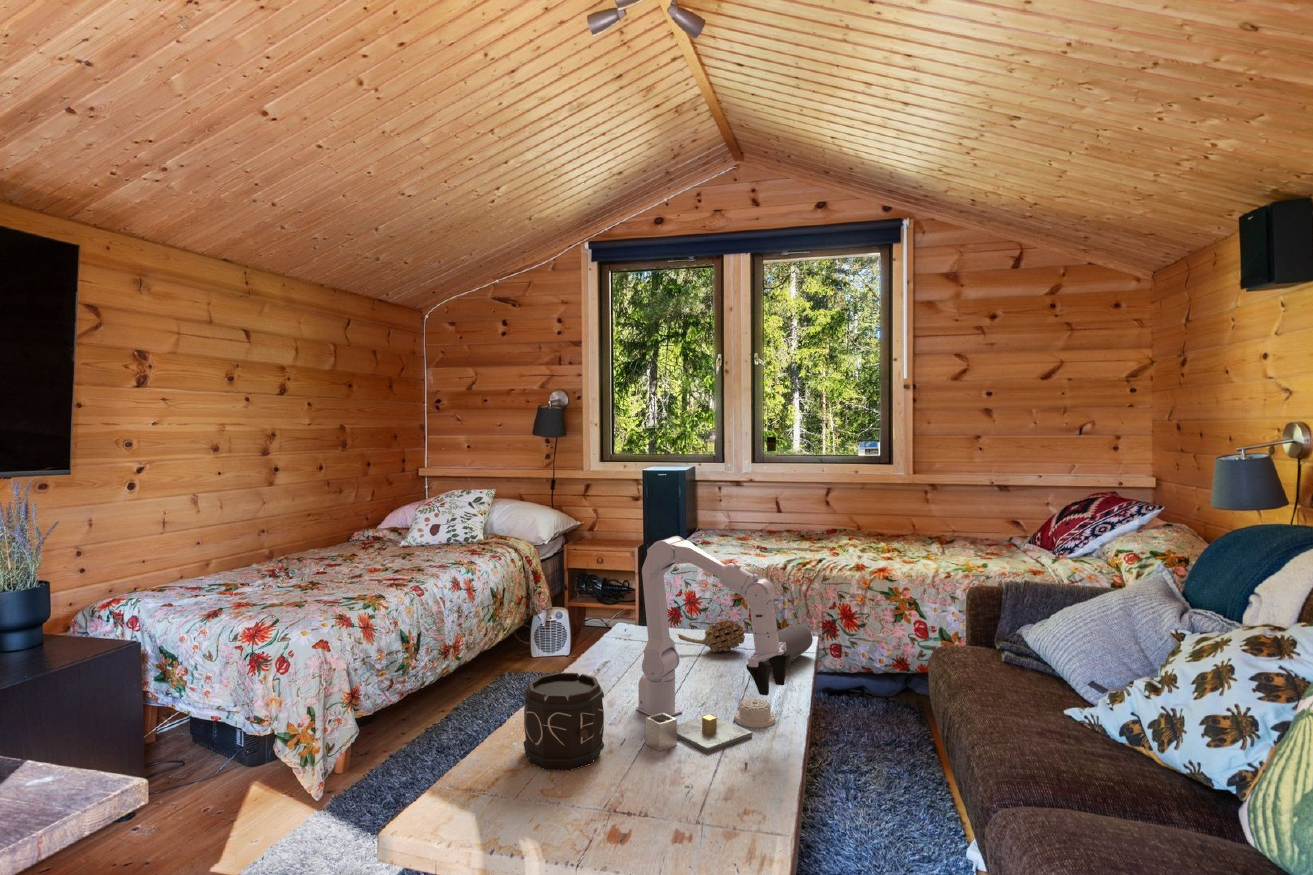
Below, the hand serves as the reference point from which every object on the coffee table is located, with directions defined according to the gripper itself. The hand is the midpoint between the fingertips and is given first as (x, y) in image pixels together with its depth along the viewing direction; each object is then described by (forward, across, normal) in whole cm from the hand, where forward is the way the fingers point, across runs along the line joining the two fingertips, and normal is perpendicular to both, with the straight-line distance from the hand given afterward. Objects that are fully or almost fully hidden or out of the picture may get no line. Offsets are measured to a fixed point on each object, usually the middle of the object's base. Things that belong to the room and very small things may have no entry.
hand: (772, 689), depth 179 cm
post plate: (+9, -10, +12) cm, 18 cm away
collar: (+8, -21, +18) cm, 29 cm away
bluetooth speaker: (+9, +48, +24) cm, 54 cm away
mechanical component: (+10, +5, +9) cm, 14 cm away
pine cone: (+6, +44, +47) cm, 65 cm away
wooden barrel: (+6, -38, +32) cm, 50 cm away
